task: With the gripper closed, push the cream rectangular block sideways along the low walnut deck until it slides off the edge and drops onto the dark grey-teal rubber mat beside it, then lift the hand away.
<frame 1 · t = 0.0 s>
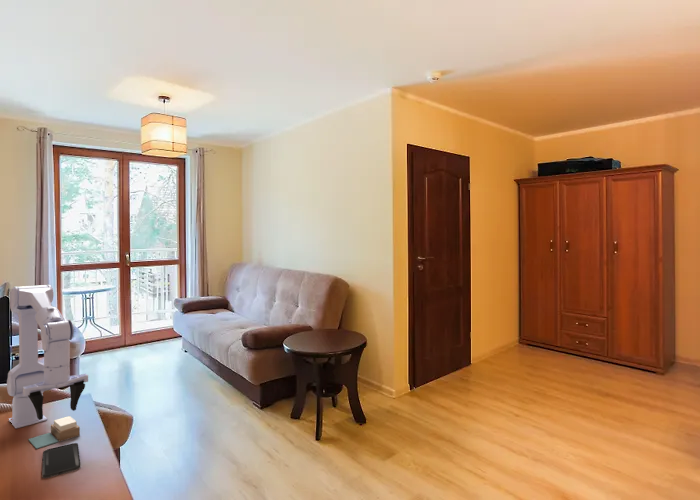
hand: (57, 413, 110), 10 cm above the table, tool pointing down, fingers open, 7 cm apart
cream rectangular block: (65, 425, 119), point 2 cm above the table, touching deck
deck: (65, 434, 119), on the table
mat: (43, 441, 115), on the table
phone: (61, 462, 105), on the table
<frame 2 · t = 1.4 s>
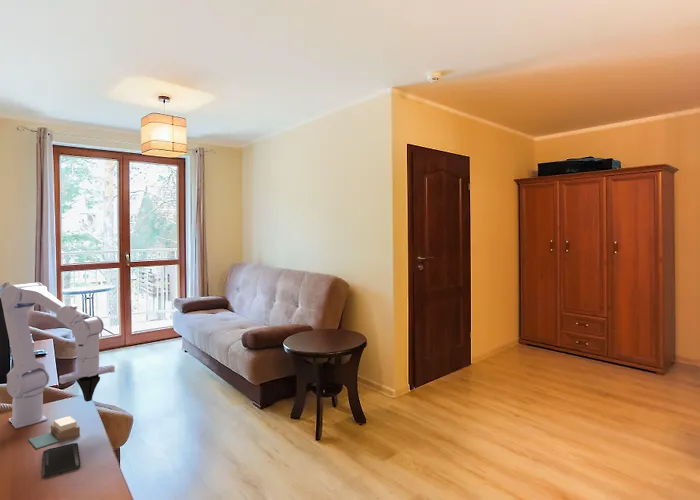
hand: (88, 400, 124), 8 cm above the table, tool pointing down, fingers closed
nothing on the table moved.
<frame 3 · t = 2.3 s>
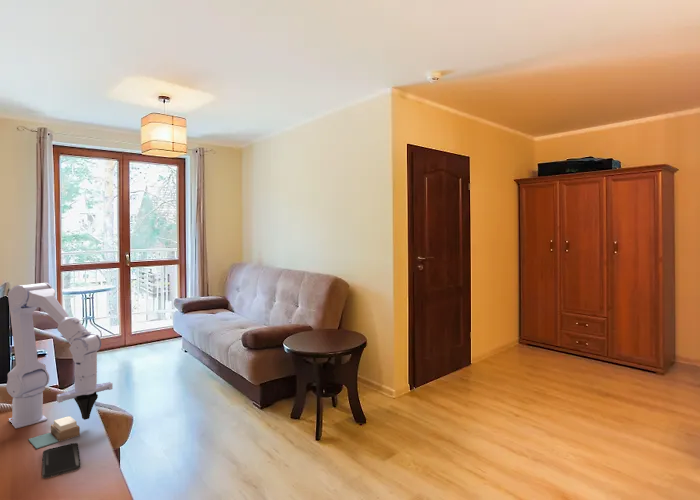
hand: (85, 418, 123), 3 cm above the table, tool pointing down, fingers closed
nothing on the table moved.
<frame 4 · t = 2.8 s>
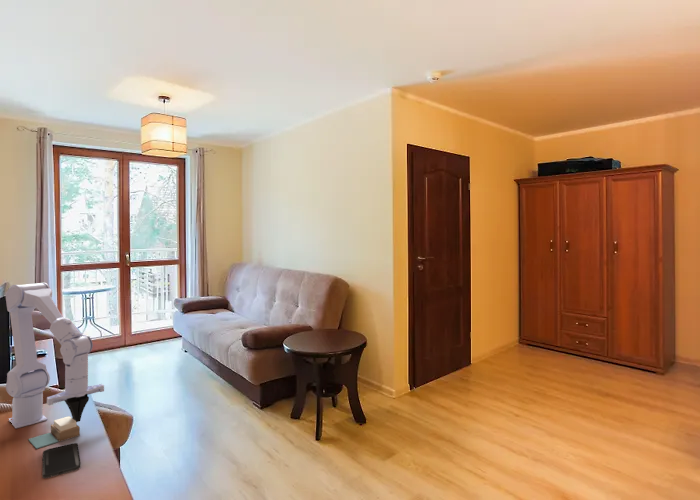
hand: (76, 420, 122), 3 cm above the table, tool pointing down, fingers closed
cream rectangular block: (65, 425, 119), point 2 cm above the table, touching deck, gripper
everything else where it was.
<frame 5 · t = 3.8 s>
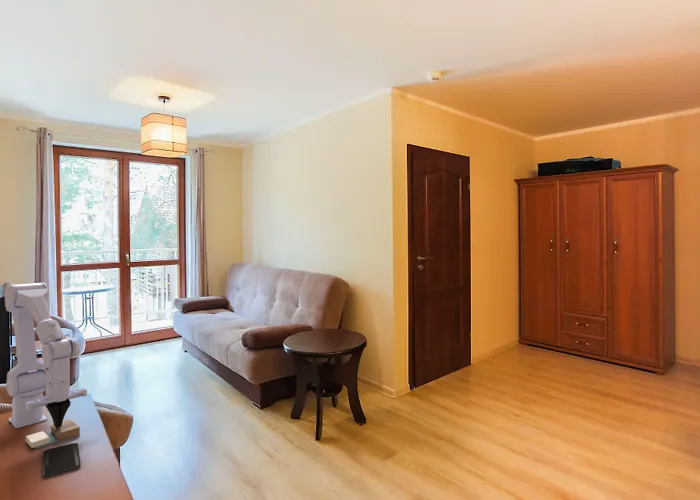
hand: (57, 426, 118), 3 cm above the table, tool pointing down, fingers closed
cream rectangular block: (37, 436, 114), point 2 cm above the table, tilted 180°, touching mat
everything else where it was.
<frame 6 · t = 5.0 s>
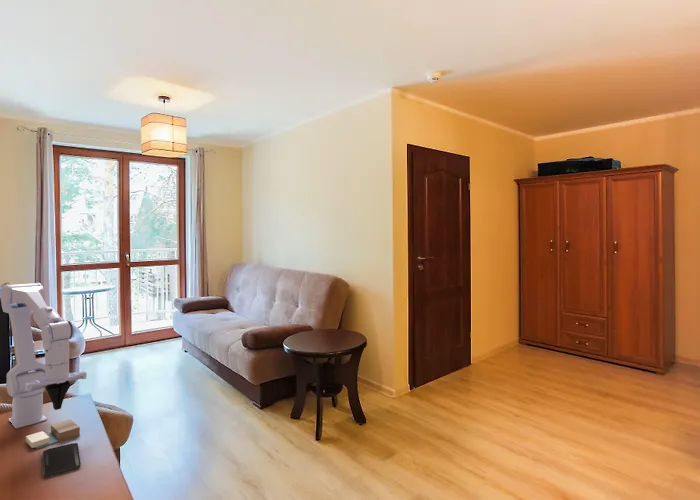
hand: (57, 408, 118), 8 cm above the table, tool pointing down, fingers closed
nothing on the table moved.
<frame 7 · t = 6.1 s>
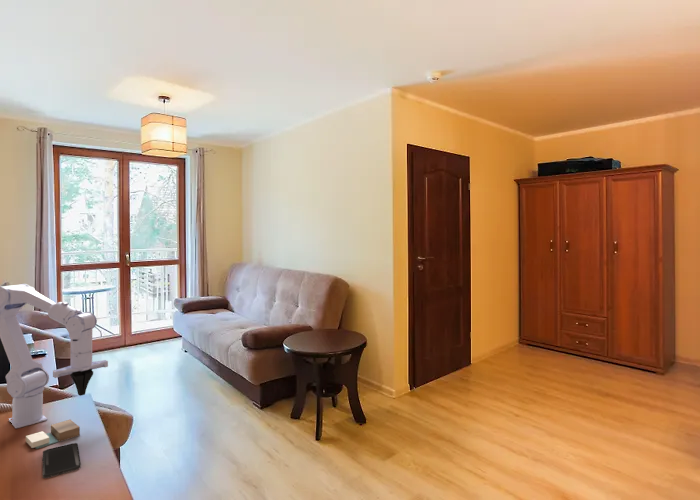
hand: (81, 394, 126), 9 cm above the table, tool pointing down, fingers closed
nothing on the table moved.
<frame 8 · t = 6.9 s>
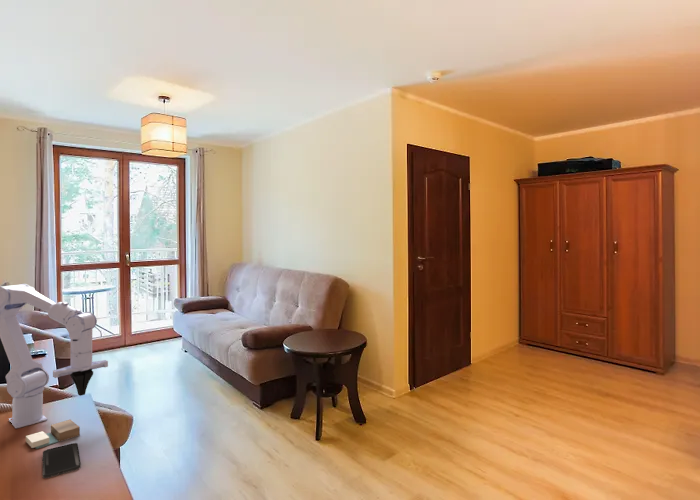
hand: (81, 394, 126), 9 cm above the table, tool pointing down, fingers closed
nothing on the table moved.
at the end: cream rectangular block inside the target area (0.8 cm from its centre), point 1.8 cm above the table; cream rectangular block touching mat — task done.
